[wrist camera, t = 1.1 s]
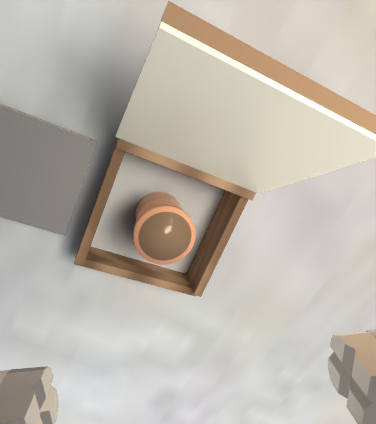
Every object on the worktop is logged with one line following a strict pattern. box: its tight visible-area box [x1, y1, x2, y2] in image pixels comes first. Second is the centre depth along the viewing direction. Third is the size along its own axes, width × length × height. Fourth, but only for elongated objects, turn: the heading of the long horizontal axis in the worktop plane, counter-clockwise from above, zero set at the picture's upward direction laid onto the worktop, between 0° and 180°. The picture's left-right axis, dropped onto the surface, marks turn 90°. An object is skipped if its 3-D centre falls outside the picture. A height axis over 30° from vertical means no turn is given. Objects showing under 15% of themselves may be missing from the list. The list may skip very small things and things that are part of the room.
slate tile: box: [0, 104, 97, 235], centre depth 36 cm, size 12×12×1 cm
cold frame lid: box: [116, 1, 376, 194], centre depth 26 cm, size 17×16×2 cm
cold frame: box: [74, 138, 256, 297], centre depth 39 cm, size 16×16×6 cm
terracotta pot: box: [133, 192, 196, 264], centre depth 38 cm, size 7×7×7 cm
